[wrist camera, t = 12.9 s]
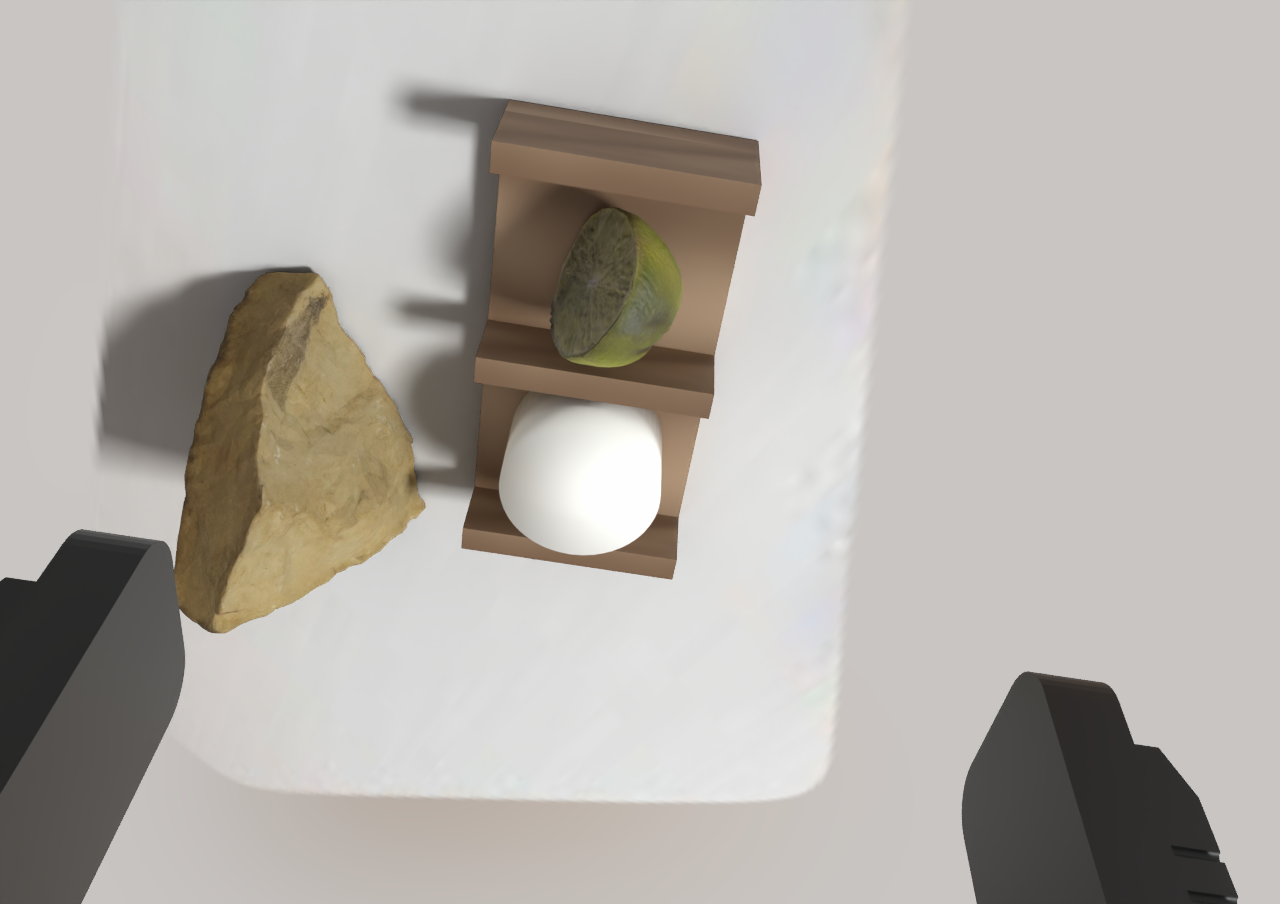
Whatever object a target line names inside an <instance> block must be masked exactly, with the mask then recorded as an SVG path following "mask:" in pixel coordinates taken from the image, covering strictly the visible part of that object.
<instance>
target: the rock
mask: <svg viewBox="0 0 1280 904" xmlns="http://www.w3.org/2000/svg"><path fill="white" fill-rule="evenodd" d="M411 443H413V438H412V436H411V435H410V433H409V432H408V431H407V429H406V428H405V426H404V424H403V422H402V420H401V418H400V415H399V413H398V411H397V406H396V404H395V403H394V401H393V400H392V399H391V398H390V397H389V396H388V394H387V392H386V390H385V388H384V386H383V385H382V383H381V382H380V381H379V380H378V379H377V378H375V377H374V376H373V374H372V372H371V370H370V368H369V367H368V365H367V364H366V362H365V356H364V354H363V353H362V352H361V350H360V349H359V347H358V346H357V344H356V343H355V342H354V341H353V340H352V339H351V338H350V337H349V336H347V334H346V333H345V331H344V330H343V329H342V327H341V326H340V324H339V322H338V317H337V312H336V309H335V306H334V304H333V299H332V294H331V292H330V290H329V288H328V287H327V286H326V284H325V283H324V281H323V280H322V278H321V277H320V276H319V275H318V274H316V273H287V272H274V273H265V274H263V275H262V276H260V277H258V278H257V280H256V281H255V283H254V284H252V285H251V286H250V288H249V289H248V290H247V291H246V293H245V297H244V299H243V301H242V302H241V303H239V304H238V305H237V306H236V307H235V308H234V311H233V312H232V314H231V315H230V317H229V321H228V326H227V329H226V333H225V337H224V340H223V342H222V343H221V345H220V349H219V353H218V356H217V359H216V361H215V363H214V364H213V365H212V367H211V368H210V371H209V374H208V377H207V381H206V384H205V387H204V395H203V401H202V408H201V411H200V415H199V418H198V420H197V422H196V425H195V430H194V439H193V443H192V446H191V448H190V451H189V456H188V461H187V465H186V471H185V490H186V497H185V500H184V505H183V511H182V517H181V524H180V530H179V535H178V541H177V551H176V562H175V568H174V576H175V583H176V591H177V598H178V606H179V609H180V610H181V611H182V612H183V613H184V614H185V615H186V616H187V617H188V618H189V619H191V620H192V621H193V622H196V623H197V624H199V625H200V626H201V627H202V628H203V629H205V630H207V631H209V632H211V633H227V632H229V631H231V630H232V629H234V628H236V627H237V626H239V625H240V624H243V623H246V622H248V621H250V620H253V619H256V618H260V617H264V616H267V615H268V614H270V613H272V612H273V611H274V610H275V609H278V608H280V607H284V606H286V605H289V604H292V603H293V602H295V601H296V600H298V599H300V598H302V597H303V596H305V595H306V594H308V593H309V592H310V591H312V590H313V589H315V588H317V587H319V586H321V585H323V584H325V583H326V582H328V581H329V580H330V579H331V578H333V576H334V575H335V574H337V573H339V572H342V571H344V570H345V569H347V568H348V567H350V566H353V565H358V564H362V563H363V562H365V561H366V560H367V559H369V558H370V557H371V556H373V555H374V554H376V553H377V552H379V551H381V550H382V549H383V548H384V546H385V545H386V544H387V543H388V542H389V541H390V540H392V539H393V538H395V537H396V536H397V535H399V534H401V533H403V531H404V530H405V529H406V527H407V523H408V522H409V521H410V520H412V519H415V518H417V517H418V516H419V514H420V513H421V512H422V511H423V510H424V509H425V507H426V506H425V503H424V501H423V500H422V499H421V498H420V496H419V494H418V489H417V481H416V475H415V472H414V454H413V450H412V447H411Z"/></svg>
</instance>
